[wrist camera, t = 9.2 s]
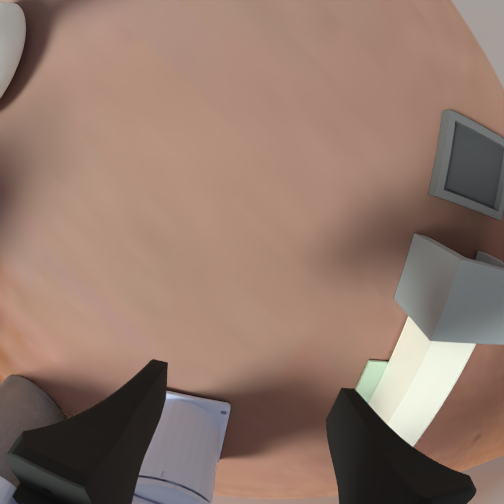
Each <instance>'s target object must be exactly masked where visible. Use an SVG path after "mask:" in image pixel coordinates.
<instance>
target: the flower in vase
mask: <svg viewBox="0 0 504 504" xmlns="http://www.w3.org/2000/svg"><path fill="white" fill-rule="evenodd" d="M25 37H26V22H25V17H24V13H23V11H22V9H21V7H20V6H19V5H17V4H16V3H12V2H6V3H0V98H1V97H2V95H3V94H4V92H5V91H6V89H7V87H8V85H9V84H10V82H11V80H12V78H13V76H14V74H15V71H16V69H17V66H18V64H19V61H20V58H21V55H22V52H23V48H24V43H25Z"/></svg>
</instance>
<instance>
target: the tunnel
mask: <svg viewBox="0 0 504 504" xmlns="http://www.w3.org/2000/svg"><path fill="white" fill-rule="evenodd" d="M394 300H395V301H396V302H397V303H398V304H399V305H400V306H401V308H402V309H403V310H404V311H405V312H406V313H407V314H408V316H409V317H410V318H411V319H412V320H413V321H414V323H415V324H416V325H417V326H418V327H419V329H420V330H421V331H422V332H423V333H424V334H425V336H426V337H427V338H428V339H429V341H438V342H454V343H473V344H502V345H504V262H502V261H501V260H499V259H497V258H495V257H493V256H491V255H489V254H487V253H484V252H481V251H478V252H477V255H476V258H475V260H472V259H469V258H465V257H464V256H462V255H460V254H458V253H457V252H455V251H453V250H451V249H450V248H448V247H446V246H444V245H442V244H440V243H439V242H437V241H435V240H433V239H431V238H429V237H427V236H424V235H420V234H416V233H414V235H413V239H412V242H411V246H410V249H409V252H408V256H407V259H406V262H405V266H404V269H403V272H402V275H401V278H400V281H399V284H398V287H397V290H396V293H395V296H394Z"/></svg>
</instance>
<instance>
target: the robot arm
mask: <svg viewBox="0 0 504 504" xmlns="http://www.w3.org/2000/svg"><path fill="white" fill-rule="evenodd" d="M167 366H168V363H167V362H163V361H158V360H154V359H153V360H151V361H150V362H149V363H148V364H147V365H146V366H145V367H144V368H143V369H142V370H141V371H140V372H139V373H137V374H136V375H135V376H134V377H133V378H132V379H131V380H130V381H128V382H127V383H126V384H125V385H124V386H122V387H121V388H120V389H119V390H117V391H116V392H114V393H113V394H112V395H110V396H109V397H108V398H106V399H105V400H103V401H102V402H100V403H98V404H97V405H95V406H93V407H92V408H90V409H88V410H86V411H84V412H82V413H80V414H78V415H76V416H74V417H71V418H69V419H66V420H64V421H61V422H58V423H55V424H52V425H49V426H45V427H41V428H36V429H32V430H27V431H23V432H22V433H21V434H20V435H19V436H18V438H17V439H16V440H15V442H14V443H13V445H12V446H11V448H10V449H9V451H8V452H7V454H6V455H5V457H6V461H7V463H8V465H9V467H10V469H11V470H12V472H13V473H14V474H15V476H16V477H17V479H18V480H19V482H20V484H19V485H18V487H17V488H16V487H15V486H14V485H13V484H11V483H10V482H9V481H7V480H6V479H4V478H2V477H1V476H0V504H212V499H213V491H214V483H215V475H216V466H217V463H218V462H219V458H220V454H221V449H222V445H223V441H224V436H225V432H226V427H227V423H228V418H229V414H230V409H231V405H230V404H229V403H227V402H221V401H216V400H210V399H205V398H200V397H194V396H190V395H185V394H180V393H176V392H171V391H167V390H166V388H167ZM223 411H226V412H223ZM326 426H327V438H328V444H329V449H330V453H331V457H332V462H333V466H334V471H335V475H336V479H337V485H338V494H339V504H467V503H468V502H469V501H470V500H471V499H472V498H473V496H474V495H475V493H476V488H475V486H474V484H473V482H472V480H471V478H470V476H469V475H466V474H463V473H460V472H458V471H455V470H452V469H450V468H448V467H446V466H444V465H441V464H439V463H438V462H436V461H434V460H432V459H430V458H429V457H427V456H426V455H424V454H422V453H421V452H419V451H418V450H416V449H415V448H414V447H412V446H411V445H410V444H409V443H407V442H406V441H405V440H403V439H402V438H401V437H400V436H399V435H398V434H397V433H396V432H395V431H393V430H392V429H391V428H390V427H389V426H388V425H387V424H386V423H385V422H384V421H383V420H382V419H381V417H380V416H379V415H378V414H377V413H376V412H375V411H374V410H373V409H372V408H371V406H370V405H369V404H368V403H367V402H366V401H365V400H364V399H363V397H362V396H361V395H360V394H359V393H358V392H357V391H356V390H355V389H350V388H341V390H340V392H339V394H338V397H337V399H336V401H335V403H334V405H333V407H332V409H331V411H330V413H329V415H328V417H327V419H326Z"/></svg>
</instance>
